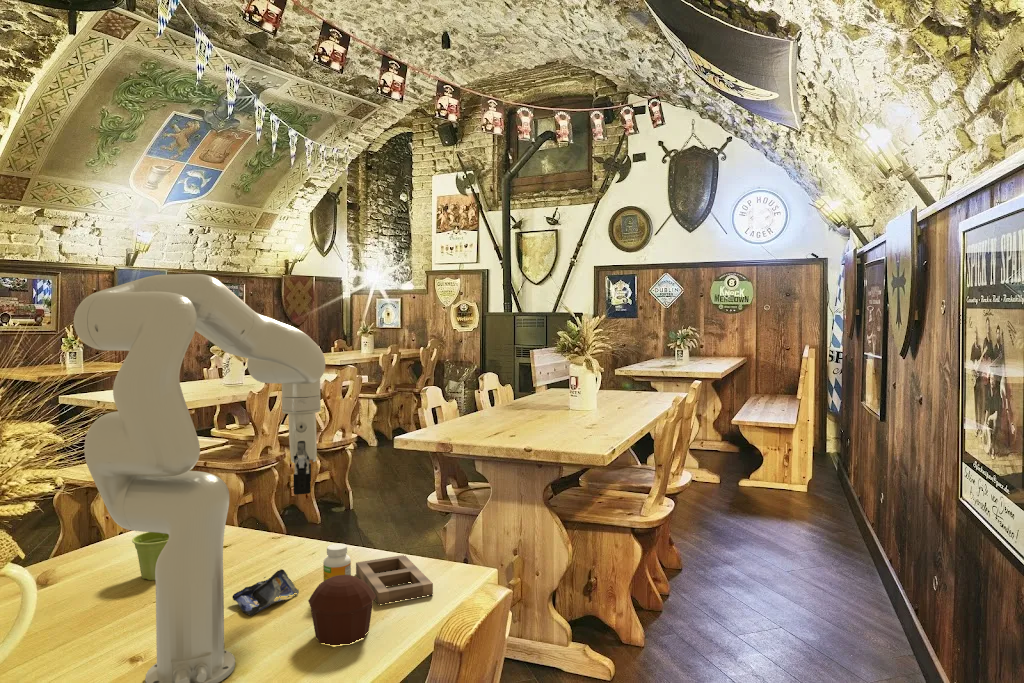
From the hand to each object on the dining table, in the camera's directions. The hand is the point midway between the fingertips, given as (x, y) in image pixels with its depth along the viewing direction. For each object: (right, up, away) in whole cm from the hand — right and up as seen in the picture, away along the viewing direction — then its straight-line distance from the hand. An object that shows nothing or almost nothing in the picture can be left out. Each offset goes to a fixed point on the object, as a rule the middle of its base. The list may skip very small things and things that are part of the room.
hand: (302, 487), depth 139 cm
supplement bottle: (+8, -21, -2) cm, 23 cm away
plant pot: (-34, -21, +9) cm, 41 cm away
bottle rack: (+18, -21, +3) cm, 28 cm away
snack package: (-5, -22, -6) cm, 23 cm away
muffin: (+13, -22, -20) cm, 32 cm away
